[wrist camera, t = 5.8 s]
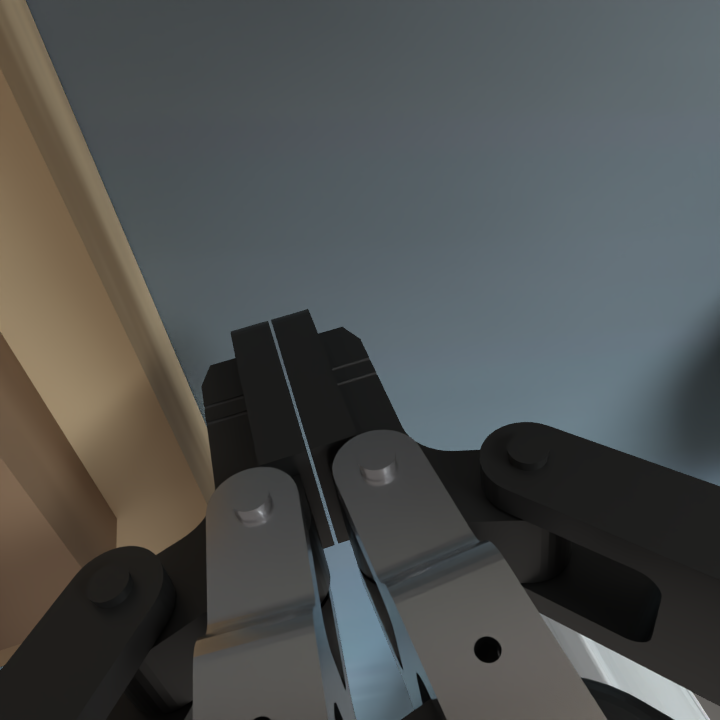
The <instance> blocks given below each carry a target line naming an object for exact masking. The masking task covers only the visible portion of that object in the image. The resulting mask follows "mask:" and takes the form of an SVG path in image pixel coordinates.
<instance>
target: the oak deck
mask: <svg viewBox="0 0 720 720" xmlns="http://www.w3.org/2000/svg"><path fill="white" fill-rule="evenodd" d="M0 332H1V333H2V335H3V337H4V338H5V340H6V341H7V343H8V345H9V346H10V348H11V349H12V351H13V353H14V354H15V356H16V357H17V359H18V361H19V362H20V364H21V366H22V367H23V369H24V370H25V372H26V374H27V375H28V377H29V378H30V380H31V382H32V383H33V385H34V386H35V388H36V390H37V391H38V393H39V394H40V396H41V398H42V399H43V401H44V402H45V404H46V406H47V407H48V409H49V410H50V412H51V414H52V415H53V417H54V418H55V420H56V422H57V423H58V425H59V426H60V428H61V430H62V431H63V433H64V434H65V436H66V438H67V439H68V441H69V442H70V444H71V446H72V447H73V449H74V450H75V452H76V454H77V455H78V457H79V459H80V460H81V462H82V463H83V465H84V467H85V468H86V470H87V471H88V473H89V475H90V476H91V478H92V479H93V481H94V483H95V484H96V486H97V487H98V489H99V491H100V492H101V494H102V495H103V497H104V499H105V500H106V502H107V503H108V505H109V507H110V508H111V510H112V511H113V513H114V515H115V516H116V518H117V543H116V548H119V547H124V546H139V547H143V548H146V549H148V550H150V551H151V552H153V553H154V554H155V555H157V554H158V553H160V552H161V551H163V550H165V549H166V548H168V547H169V546H171V545H173V544H174V543H176V542H177V541H179V540H181V539H182V538H183V537H185V536H186V535H188V534H189V533H190V532H191V531H193V530H194V529H195V528H196V527H197V526H198V525H199V524H200V523H201V522H202V520H203V519H204V518H205V516H206V508H207V505H208V502H209V500H210V498H211V496H212V494H213V493H214V491H215V484H214V476H213V469H212V461H211V453H210V446H209V438H208V431H207V427H206V424H205V422H204V420H203V417H202V415H201V413H200V410H199V408H198V406H197V403H196V401H195V399H194V396H193V394H192V391H191V389H190V387H189V384H188V382H187V380H186V377H185V375H184V373H183V370H182V368H181V366H180V363H179V361H178V358H177V356H176V354H175V351H174V349H173V347H172V344H171V342H170V340H169V337H168V335H167V333H166V330H165V328H164V326H163V323H162V321H161V318H160V316H159V314H158V311H157V309H156V307H155V304H154V302H153V300H152V297H151V295H150V293H149V290H148V288H147V285H146V283H145V281H144V278H143V276H142V274H141V271H140V269H139V267H138V264H137V262H136V260H135V257H134V255H133V253H132V250H131V248H130V245H129V243H128V241H127V238H126V236H125V234H124V231H123V229H122V227H121V224H120V222H119V220H118V217H117V215H116V212H115V210H114V208H113V205H112V203H111V201H110V198H109V196H108V194H107V191H106V189H105V187H104V184H103V182H102V180H101V177H100V175H99V172H98V170H97V168H96V165H95V163H94V161H93V158H92V156H91V154H90V151H89V149H88V147H87V144H86V142H85V139H84V137H83V135H82V132H81V130H80V128H79V125H78V123H77V121H76V118H75V116H74V114H73V111H72V109H71V107H70V104H69V102H68V99H67V97H66V95H65V92H64V90H63V88H62V85H61V83H60V81H59V78H58V76H57V74H56V71H55V69H54V66H53V64H52V62H51V59H50V57H49V55H48V52H47V50H46V48H45V45H44V43H43V41H42V38H41V36H40V34H39V31H38V29H37V26H36V24H35V22H34V19H33V17H32V15H31V12H30V10H29V8H28V5H27V3H26V1H25V0H0ZM20 645H21V644H19V645H16V646H13V647H9V648H6V649H3V650H0V667H1V666H4V665H5V664H6V663H7V662H8V660H9V659H10V658H11V656H12V655H13V654H14V653H15V651H16V650H17V649H18V648H19V646H20Z"/></svg>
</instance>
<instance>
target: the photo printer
mask: <svg viewBox="0 0 720 720" xmlns="http://www.w3.org/2000/svg"><path fill="white" fill-rule="evenodd" d="M540 615H541V616H542V618H543V620H544V621H545V623H546V624H547V626H548V627H549V629H550V631H551V632H552V634H553V635H554V637H555V638H556V640H557V642H558V643H559V645H560V646H561V648H562V649H563V651H564V653H565V654H566V656H567V657H568V659H569V660H570V662H571V663H572V665H573V667H574V668H575V670H576V671H577V673H578V674H579V676H580V677H582V678H588V679H591V680H595V681H598V682H601V683H604V684H608V685H610V686H613V687H615V688H617V689H620V690H622V691H624V692H627V693H629V694H631V695H633V696H634V697H636V698H638V699H640V700H642V701H643V702H645V703H647V704H649V705H650V706H652V707H654V708H655V709H657V710H659V711H661V712H662V713H664V714H666V715H667V716H669V717H671V718H672V719H674V720H710V719H709V718H708V716H707V714H706V713H705V711H704V710H703V708H702V707H701V705H700V703H699V702H698V700H697V699H696V697H695V696H694V694H693V693H692V692H691V691H690V690H688V689H686V688H684V687H682V686H680V685H678V684H676V683H674V682H672V681H670V680H668V679H666V678H664V677H662V676H661V675H659V674H657V673H655V672H653V671H651V670H649V669H647V668H645V667H643V666H641V665H639V664H637V663H635V662H633V661H632V660H630V659H628V658H626V657H624V656H622V655H620V654H618V653H616V652H614V651H612V650H610V649H608V648H606V647H604V646H603V645H601V644H599V643H597V642H595V641H593V640H591V639H589V638H587V637H585V636H583V635H581V634H579V633H577V632H575V631H574V630H572V629H570V628H568V627H566V626H564V625H562V624H560V623H558V622H556V621H554V620H552V619H550V618H548V617H546V616H545V615H543V614H541V613H540Z"/></svg>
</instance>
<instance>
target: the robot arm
mask: <svg viewBox="0 0 720 720" xmlns="http://www.w3.org/2000/svg"><path fill="white" fill-rule="evenodd" d="M271 321H272V324H273V328H274V331H275V334H276V338H277V341H278V344H279V348H280V351H281V355H282V358H283V361H284V365H285V368H286V371H287V375H288V378H289V382H290V385H291V388H292V392H293V395H294V398H295V402H296V405H297V408H298V412H299V415H300V418H301V422H302V425H303V428H304V432H305V435H306V438H307V441H308V445H309V448H310V451H311V455H312V458H313V461H314V465H315V468H316V471H317V475H318V478H319V481H320V485H321V488H322V491H323V494H324V498H325V501H326V504H327V508H328V511H329V514H330V518H331V521H332V524H333V528H334V531H335V534H336V538H337V541H338V543H341V542H344V541H347V540H350V542H351V545H352V548H353V551H354V555H355V558H356V561H357V564H358V568H359V571H360V575H361V579H362V582H363V585H364V587H365V589H366V592H367V594H368V597H369V599H370V601H371V604H372V606H373V609H374V611H375V613H376V616H377V618H378V621H379V623H380V625H381V628H382V630H383V633H384V635H385V637H386V640H387V642H388V645H389V647H390V649H391V652H392V654H393V657H394V659H395V661H396V664H397V666H398V669H399V671H400V673H401V676H402V678H403V681H404V683H405V686H406V689H407V692H408V694H409V697H410V700H411V703H412V706H413V709H414V711H413V712H411V713H410V714H408V715H407V716H406V717H404V718H403V719H401V720H674V719H672V718H671V717H669V716H667V715H666V714H664V713H662V712H661V711H659V710H657V709H655V708H654V707H652V706H650V705H649V704H647V703H645V702H643V701H642V700H640V699H638V698H636V697H634V696H633V695H631V694H629V693H627V692H624V691H622V690H620V689H617V688H615V687H613V686H610V685H608V684H604V683H601V682H598V681H595V680H591V679H588V678H582V677H580V676H579V674H578V673H577V671H576V670H575V668H574V667H573V665H572V663H571V662H570V660H569V659H568V657H567V656H566V654H565V653H564V651H563V649H562V648H561V646H560V645H559V643H558V642H557V640H556V638H555V637H554V635H553V634H552V632H551V631H550V629H549V627H548V626H547V624H546V623H545V621H544V620H543V618H542V616H541V615H540V613H541V614H543V615H545V616H546V617H548V618H550V619H552V620H554V621H556V622H558V623H560V624H562V625H564V626H566V627H568V628H570V629H572V630H574V631H575V632H577V633H579V634H581V635H583V636H585V637H587V638H589V639H591V640H593V641H595V642H597V643H599V644H601V645H603V646H604V647H606V648H608V649H610V650H612V651H614V652H616V653H618V654H620V655H622V656H624V657H626V658H628V659H630V660H632V661H633V662H635V663H637V664H639V665H641V666H643V667H645V668H647V669H649V670H651V671H653V672H655V673H657V674H659V675H661V676H662V677H664V678H666V679H668V680H670V681H672V682H674V683H676V684H678V685H680V686H682V687H684V688H686V689H688V690H690V691H691V692H693V693H696V694H697V695H699V696H701V697H703V698H705V699H707V700H709V701H711V702H713V703H715V704H717V705H719V706H720V486H717V485H714V484H711V483H709V482H706V481H703V480H700V479H697V478H694V477H692V476H689V475H686V474H683V473H680V472H677V471H675V470H672V469H669V468H666V467H663V466H660V465H658V464H655V463H652V462H649V461H646V460H643V459H641V458H638V457H635V456H632V455H629V454H626V453H624V452H621V451H618V450H615V449H612V448H610V447H607V446H604V445H601V444H598V443H595V442H593V441H590V440H587V439H584V438H581V437H578V436H576V435H573V434H570V433H567V432H564V431H561V430H559V429H556V428H553V427H550V426H547V425H543V424H540V423H533V422H520V423H513V424H509V425H506V426H503V427H501V428H499V429H497V430H495V431H494V432H493V433H491V434H490V435H489V436H488V437H487V438H486V439H485V441H484V442H483V444H482V446H481V449H480V450H467V451H442V450H436V449H432V448H428V447H426V446H423V445H421V444H419V443H417V442H416V441H414V440H413V439H412V438H411V437H409V436H408V435H407V433H406V432H405V431H404V429H403V427H402V426H401V423H400V421H399V419H398V417H397V415H396V413H395V411H394V409H393V407H392V405H391V403H390V400H389V398H388V396H387V394H386V392H385V390H384V388H383V386H382V384H381V382H380V379H379V377H378V375H376V371H375V369H374V367H373V365H372V363H371V361H370V360H369V356H368V354H367V352H366V350H365V348H364V346H363V344H362V342H361V340H360V339H359V338H358V337H356V336H355V335H353V334H352V333H351V332H349V331H348V330H346V329H345V328H343V327H340V328H337V329H333V330H330V331H326V332H323V333H319V334H318V333H317V330H316V328H315V325H314V323H313V320H312V318H311V315H310V313H309V310H308V309H307V310H304V311H300V312H297V313H293V314H290V315H286V316H283V317H279V318H276V319H272V320H271ZM231 337H232V342H233V347H234V352H235V357H236V358H234V359H231V360H227V361H224V362H221V363H217V364H214V365H210V368H209V370H208V372H207V375H206V377H205V379H204V382H203V384H202V393H203V400H204V407H205V416H206V423H207V431H208V438H209V446H210V453H211V461H212V469H213V476H214V484H215V491H214V493H213V494H212V496H211V498H210V500H209V502H208V505H207V508H206V516H205V518H204V519H203V520H202V522H201V523H200V524H199V525H198V526H197V527H196V528H195V529H194V530H193V531H191V532H190V533H189V534H188V535H186V536H185V537H183V538H182V539H181V540H179V541H177V542H176V543H174V544H173V545H171V546H169V547H168V548H166V549H165V550H163V551H161V552H160V553H158V554H157V555H155V554H154V553H153V552H151V551H150V550H148V549H146V548H143V547H139V546H124V547H119V548H115V549H112V550H109V551H107V552H104V553H102V554H101V555H99V556H97V557H95V558H94V559H93V560H91V561H90V562H88V563H87V564H86V565H85V566H84V567H83V568H82V569H80V571H79V572H78V573H77V574H76V575H75V576H74V578H73V579H72V580H71V581H70V583H69V584H68V585H67V586H66V588H65V589H64V590H63V592H62V593H61V594H60V595H59V597H58V598H57V599H56V600H55V602H54V603H53V604H52V606H51V607H50V608H49V609H48V611H47V612H46V613H45V614H44V616H43V617H42V618H41V620H40V621H39V622H38V623H37V625H36V626H35V627H34V628H33V630H32V631H31V632H30V634H29V635H28V636H27V637H26V639H25V640H24V641H23V642H22V644H21V645H20V646H19V648H18V649H17V650H16V651H15V653H14V654H13V655H12V656H11V658H10V659H9V660H8V662H7V663H6V664H5V665H4V667H3V668H2V669H1V670H0V720H356V716H355V712H354V708H353V704H352V699H351V694H350V689H349V684H348V678H347V673H346V667H345V662H344V656H343V651H342V645H341V640H340V634H339V629H338V623H337V618H336V612H335V607H334V602H333V596H332V592H331V588H330V573H329V568H328V565H327V561H326V558H325V554H324V550H323V549H324V548H327V547H330V546H333V545H334V541H333V538H332V535H331V531H330V528H329V525H328V521H327V518H326V514H325V511H324V508H323V504H322V501H321V497H320V494H319V491H318V487H317V484H316V481H315V477H314V474H313V470H312V467H311V464H310V460H309V457H308V453H307V450H306V447H305V443H304V440H303V437H302V433H301V430H300V426H299V423H298V420H297V416H296V413H295V410H294V406H293V403H292V399H291V396H290V393H289V389H288V386H287V383H286V379H285V376H284V373H283V369H282V366H281V363H280V359H279V356H278V353H277V350H276V346H275V343H274V340H273V336H272V333H271V330H270V326H269V323H268V321H266V322H262V323H259V324H255V325H252V326H248V327H245V328H241V329H238V330H234V331H231Z"/></svg>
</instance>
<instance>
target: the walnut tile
mask: <svg viewBox="0 0 720 720" xmlns="http://www.w3.org/2000/svg"><path fill="white" fill-rule="evenodd" d="M116 543H117V518H116V516H115V515H114V513H113V511H112V510H111V508H110V507H109V505H108V503H107V502H106V500H105V499H104V497H103V495H102V494H101V492H100V491H99V489H98V487H97V486H96V484H95V483H94V481H93V479H92V478H91V476H90V475H89V473H88V471H87V470H86V468H85V467H84V465H83V463H82V462H81V460H80V459H79V457H78V455H77V454H76V452H75V450H74V449H73V447H72V446H71V444H70V442H69V441H68V439H67V438H66V436H65V434H64V433H63V431H62V430H61V428H60V426H59V425H58V423H57V422H56V420H55V418H54V417H53V415H52V414H51V412H50V410H49V409H48V407H47V406H46V404H45V402H44V401H43V399H42V398H41V396H40V394H39V393H38V391H37V390H36V388H35V386H34V385H33V383H32V382H31V380H30V378H29V377H28V375H27V374H26V372H25V370H24V369H23V367H22V366H21V364H20V362H19V361H18V359H17V357H16V356H15V354H14V353H13V351H12V349H11V348H10V346H9V345H8V343H7V341H6V340H5V338H4V337H3V335H2V333H1V332H0V650H3V649H6V648H9V647H13V646H16V645H19V644H22V642H23V641H24V640H25V639H26V637H27V636H28V635H29V634H30V632H31V631H32V630H33V628H34V627H35V626H36V625H37V623H38V622H39V621H40V620H41V618H42V617H43V616H44V614H45V613H46V612H47V611H48V609H49V608H50V607H51V606H52V604H53V603H54V602H55V600H56V599H57V598H58V597H59V595H60V594H61V593H62V592H63V590H64V589H65V588H66V586H67V585H68V584H69V583H70V581H71V580H72V579H73V578H74V576H75V575H76V574H77V573H78V572H79V571H80V569H82V568H83V567H84V566H85V565H86V564H87V563H88V562H90V561H91V560H93V559H94V558H95V557H97V556H99V555H101V554H102V553H104V552H107V551H109V550H112V549H115V548H116Z"/></svg>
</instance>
